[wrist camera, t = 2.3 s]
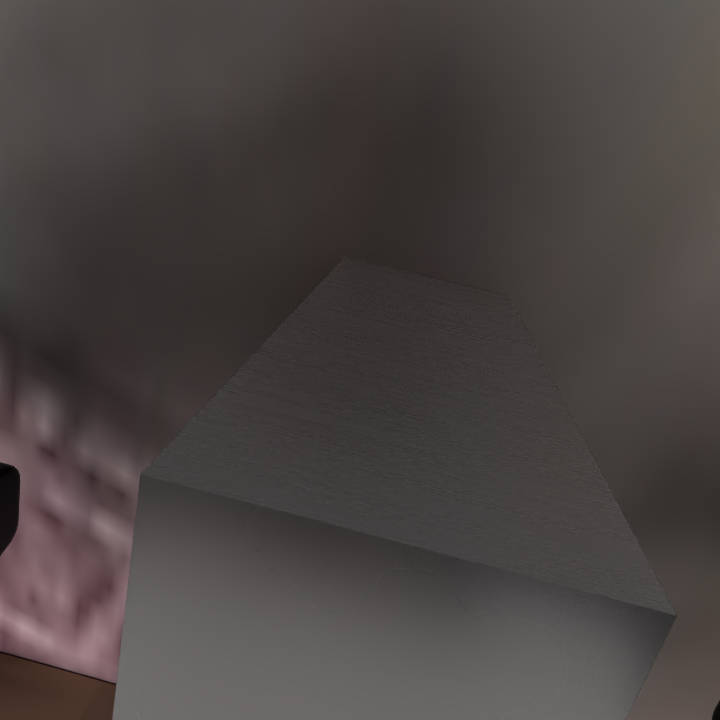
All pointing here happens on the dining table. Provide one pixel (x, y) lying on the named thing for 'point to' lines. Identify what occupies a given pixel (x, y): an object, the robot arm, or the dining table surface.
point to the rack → (51, 693)
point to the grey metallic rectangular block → (386, 530)
